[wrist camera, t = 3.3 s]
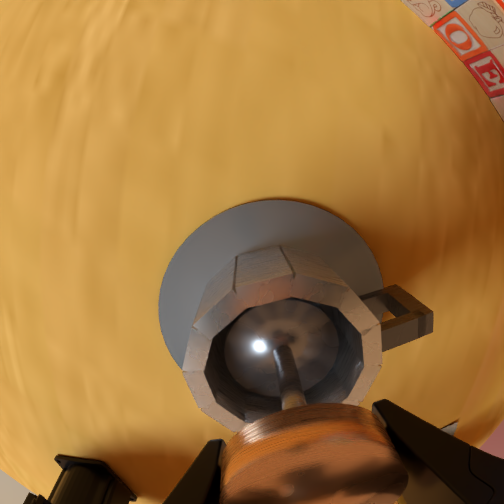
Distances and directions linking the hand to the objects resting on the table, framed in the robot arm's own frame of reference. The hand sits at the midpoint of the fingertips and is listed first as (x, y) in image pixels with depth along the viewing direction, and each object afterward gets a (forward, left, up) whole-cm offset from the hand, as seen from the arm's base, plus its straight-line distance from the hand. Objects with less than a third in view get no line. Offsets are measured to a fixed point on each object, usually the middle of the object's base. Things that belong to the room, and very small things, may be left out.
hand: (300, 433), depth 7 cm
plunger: (0, 0, -5) cm, 5 cm away
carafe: (+1, 0, -8) cm, 8 cm away
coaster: (0, 0, -8) cm, 8 cm away
